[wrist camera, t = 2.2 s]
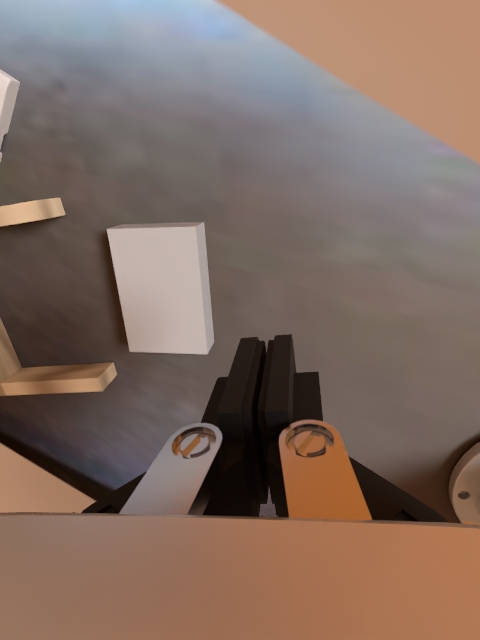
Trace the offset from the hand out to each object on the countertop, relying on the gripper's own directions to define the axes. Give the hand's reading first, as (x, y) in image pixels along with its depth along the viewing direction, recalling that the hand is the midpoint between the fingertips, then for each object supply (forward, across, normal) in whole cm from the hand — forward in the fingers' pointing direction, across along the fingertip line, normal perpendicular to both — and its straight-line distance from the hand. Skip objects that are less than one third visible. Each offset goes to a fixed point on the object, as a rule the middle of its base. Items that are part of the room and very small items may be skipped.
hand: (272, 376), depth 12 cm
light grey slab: (+14, +9, 0) cm, 17 cm away
